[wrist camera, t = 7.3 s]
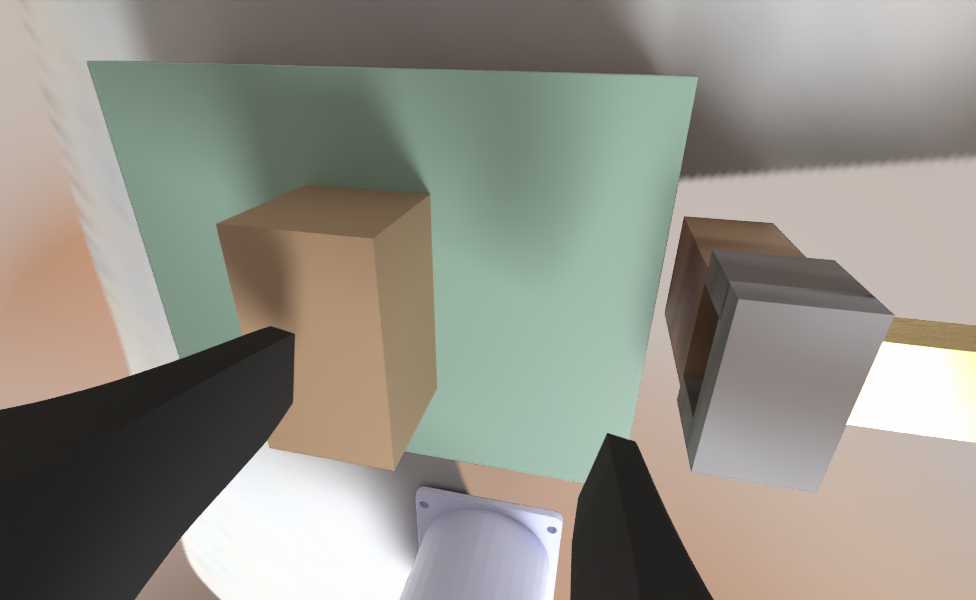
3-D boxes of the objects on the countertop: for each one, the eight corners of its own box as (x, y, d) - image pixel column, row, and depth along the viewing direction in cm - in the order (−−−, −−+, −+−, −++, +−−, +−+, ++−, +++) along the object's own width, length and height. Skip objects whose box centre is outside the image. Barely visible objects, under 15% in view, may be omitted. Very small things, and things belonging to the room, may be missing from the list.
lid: (619, 461, 19) (622, 596, 14) (220, 394, 22) (115, 486, 18) (689, 74, 13) (736, 87, 8) (125, 60, 16) (-74, 63, 11)
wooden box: (718, 413, 21) (773, 591, 14) (272, 348, 25) (140, 463, 18) (812, 85, 15) (984, 110, 8) (212, 68, 19) (-15, 76, 12)
